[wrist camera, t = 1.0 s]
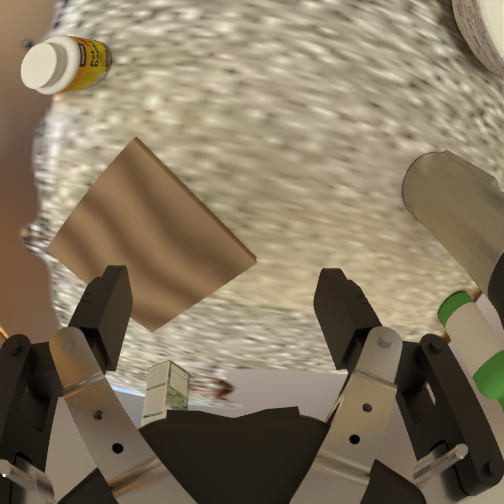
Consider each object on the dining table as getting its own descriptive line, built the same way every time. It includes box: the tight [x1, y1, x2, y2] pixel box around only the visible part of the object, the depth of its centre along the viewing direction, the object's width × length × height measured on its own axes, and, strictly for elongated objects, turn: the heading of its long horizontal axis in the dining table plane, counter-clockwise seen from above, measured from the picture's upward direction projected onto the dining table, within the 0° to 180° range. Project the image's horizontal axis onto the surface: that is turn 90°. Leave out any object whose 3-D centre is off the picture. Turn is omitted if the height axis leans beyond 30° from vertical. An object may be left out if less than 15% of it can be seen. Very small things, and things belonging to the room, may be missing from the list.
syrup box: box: [141, 361, 189, 427], centre depth 44 cm, size 6×6×14 cm
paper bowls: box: [452, 0, 504, 77], centre depth 15 cm, size 15×15×8 cm
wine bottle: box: [439, 292, 504, 411], centre depth 34 cm, size 8×8×30 cm
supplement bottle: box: [21, 35, 111, 94], centre depth 17 cm, size 5×5×10 cm
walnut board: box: [47, 137, 257, 332], centre depth 34 cm, size 20×20×1 cm
